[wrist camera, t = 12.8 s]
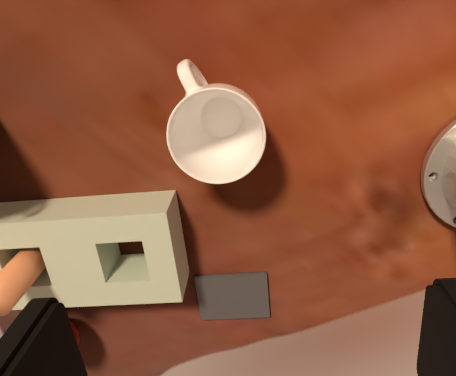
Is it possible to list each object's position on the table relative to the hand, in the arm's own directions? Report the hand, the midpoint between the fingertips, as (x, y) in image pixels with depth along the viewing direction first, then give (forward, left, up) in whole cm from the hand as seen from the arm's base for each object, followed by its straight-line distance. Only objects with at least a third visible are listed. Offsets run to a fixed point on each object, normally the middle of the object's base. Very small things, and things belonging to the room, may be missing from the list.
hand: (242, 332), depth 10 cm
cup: (+3, 0, -28) cm, 29 cm away
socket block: (+18, +13, -28) cm, 36 cm away
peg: (+23, +13, -28) cm, 39 cm away
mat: (+4, +22, -28) cm, 36 cm away
